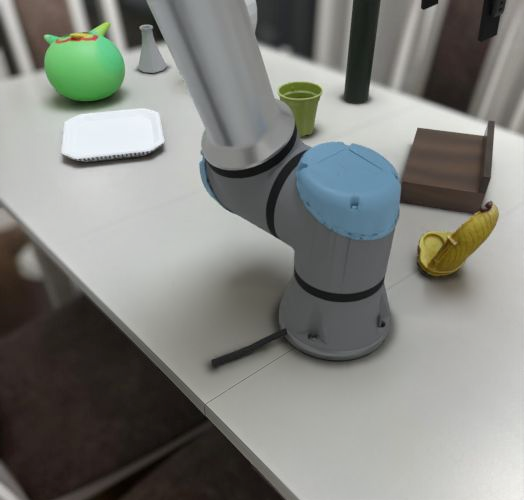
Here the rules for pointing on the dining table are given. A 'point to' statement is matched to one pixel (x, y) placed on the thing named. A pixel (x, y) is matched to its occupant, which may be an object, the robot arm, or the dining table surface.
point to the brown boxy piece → (448, 169)
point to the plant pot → (302, 103)
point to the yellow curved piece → (455, 243)
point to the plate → (112, 135)
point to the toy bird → (84, 64)
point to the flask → (150, 52)
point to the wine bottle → (361, 50)
